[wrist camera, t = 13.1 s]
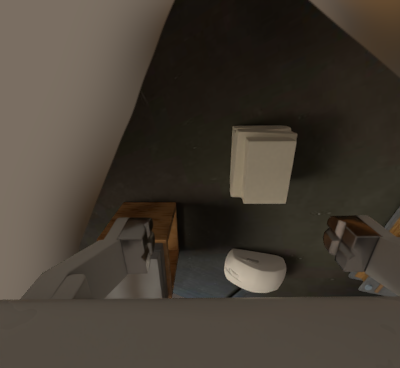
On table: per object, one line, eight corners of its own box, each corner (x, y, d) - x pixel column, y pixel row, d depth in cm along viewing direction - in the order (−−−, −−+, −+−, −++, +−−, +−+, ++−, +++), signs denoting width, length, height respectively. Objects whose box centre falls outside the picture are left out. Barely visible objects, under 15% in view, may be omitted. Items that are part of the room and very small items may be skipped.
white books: (227, 183, 38) (230, 199, 33) (229, 124, 34) (234, 130, 28) (277, 183, 38) (289, 199, 32) (286, 123, 34) (302, 130, 28)
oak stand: (132, 251, 45) (104, 315, 32) (123, 202, 40) (85, 254, 27) (179, 251, 45) (169, 315, 32) (175, 202, 40) (162, 255, 27)
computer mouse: (228, 245, 44) (231, 269, 38) (287, 256, 45) (299, 280, 39) (220, 268, 47) (223, 293, 41) (277, 277, 47) (287, 303, 42)
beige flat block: (240, 195, 32) (243, 204, 30) (245, 137, 29) (248, 141, 26) (280, 195, 32) (285, 204, 30) (289, 136, 29) (297, 141, 26)
